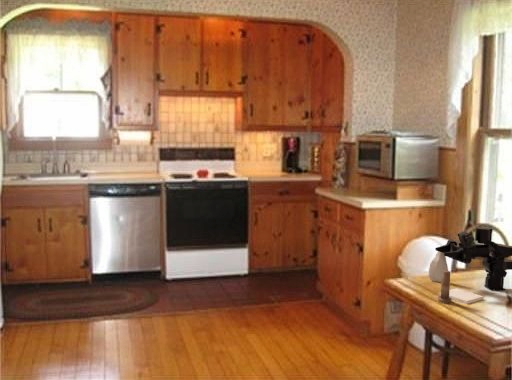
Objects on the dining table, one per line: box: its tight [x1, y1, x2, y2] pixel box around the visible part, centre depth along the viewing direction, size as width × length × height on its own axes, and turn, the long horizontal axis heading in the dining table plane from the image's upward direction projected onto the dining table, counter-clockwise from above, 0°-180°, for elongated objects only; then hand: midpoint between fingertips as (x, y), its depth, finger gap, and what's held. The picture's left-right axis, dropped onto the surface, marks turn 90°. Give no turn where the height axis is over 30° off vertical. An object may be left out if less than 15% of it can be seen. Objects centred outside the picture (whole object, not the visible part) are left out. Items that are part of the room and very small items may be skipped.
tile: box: [439, 287, 484, 305], centre depth 223 cm, size 11×13×1 cm
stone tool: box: [427, 251, 449, 283], centre depth 245 cm, size 8×3×15 cm, turn 68°
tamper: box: [437, 270, 452, 305], centre depth 217 cm, size 5×5×12 cm
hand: (439, 251), depth 232 cm, fingers open, 9 cm apart
